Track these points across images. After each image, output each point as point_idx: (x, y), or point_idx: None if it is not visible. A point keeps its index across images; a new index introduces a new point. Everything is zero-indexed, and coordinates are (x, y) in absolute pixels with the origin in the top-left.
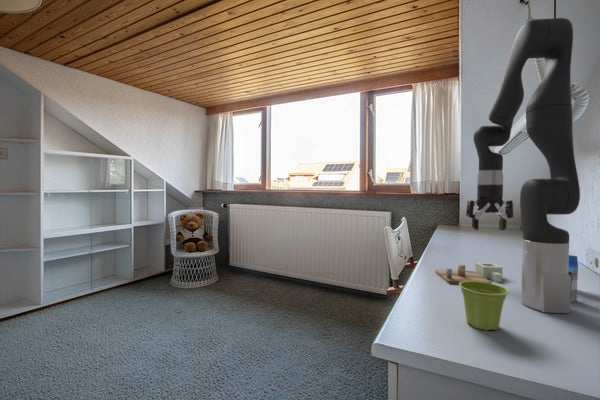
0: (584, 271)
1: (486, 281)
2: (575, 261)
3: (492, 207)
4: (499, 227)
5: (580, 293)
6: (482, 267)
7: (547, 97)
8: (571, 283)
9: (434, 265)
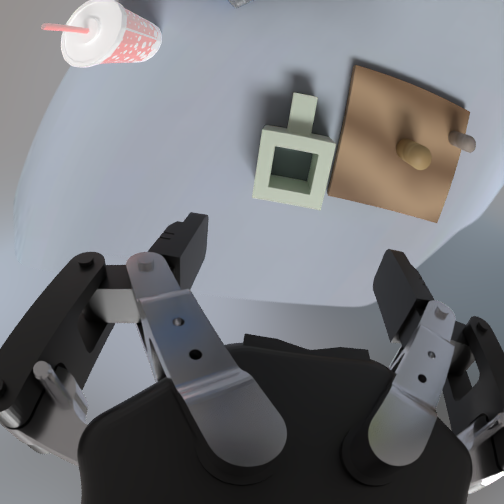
0: (22, 209)
1: (368, 74)
2: None
3: (290, 406)
4: (201, 260)
5: (135, 8)
6: (333, 151)
7: None
8: None
9: None
